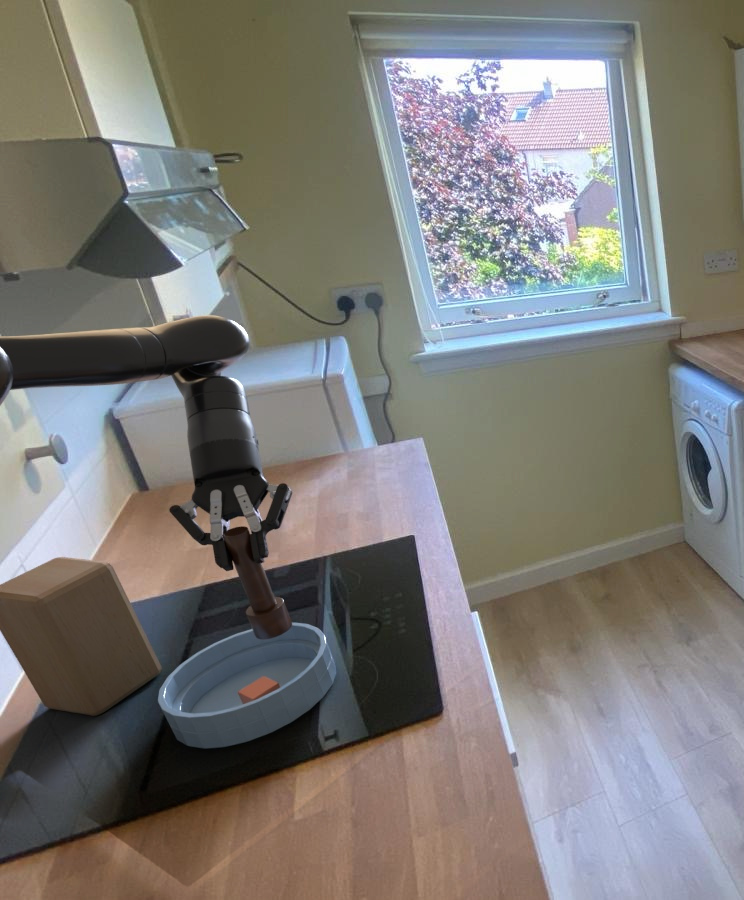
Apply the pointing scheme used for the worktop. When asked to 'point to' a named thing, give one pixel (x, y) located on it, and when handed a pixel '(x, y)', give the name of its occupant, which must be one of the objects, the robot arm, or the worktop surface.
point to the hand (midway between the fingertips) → (244, 564)
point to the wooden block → (76, 635)
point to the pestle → (256, 588)
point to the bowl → (233, 668)
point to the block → (258, 689)
